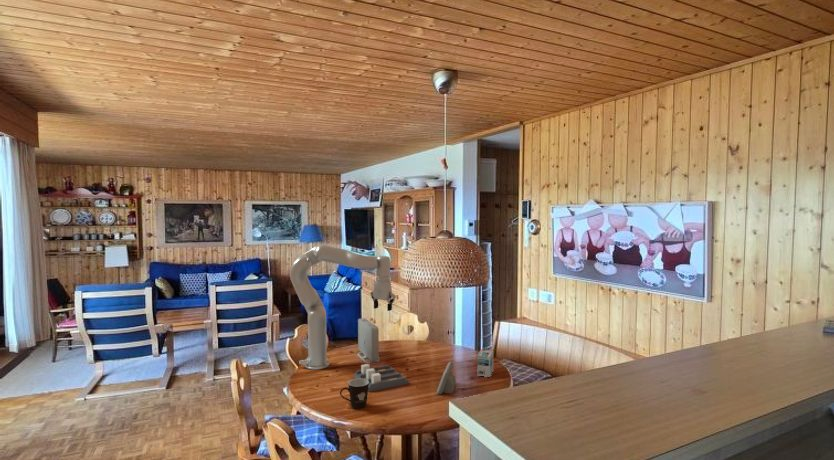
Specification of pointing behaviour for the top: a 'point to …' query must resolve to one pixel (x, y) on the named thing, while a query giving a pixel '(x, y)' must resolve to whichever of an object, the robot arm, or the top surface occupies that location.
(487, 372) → the light bulb box
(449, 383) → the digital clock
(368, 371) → the middle tab
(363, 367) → the far tab
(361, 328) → the network device
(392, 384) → the switch panel
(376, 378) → the near tab
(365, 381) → the coffee mug
